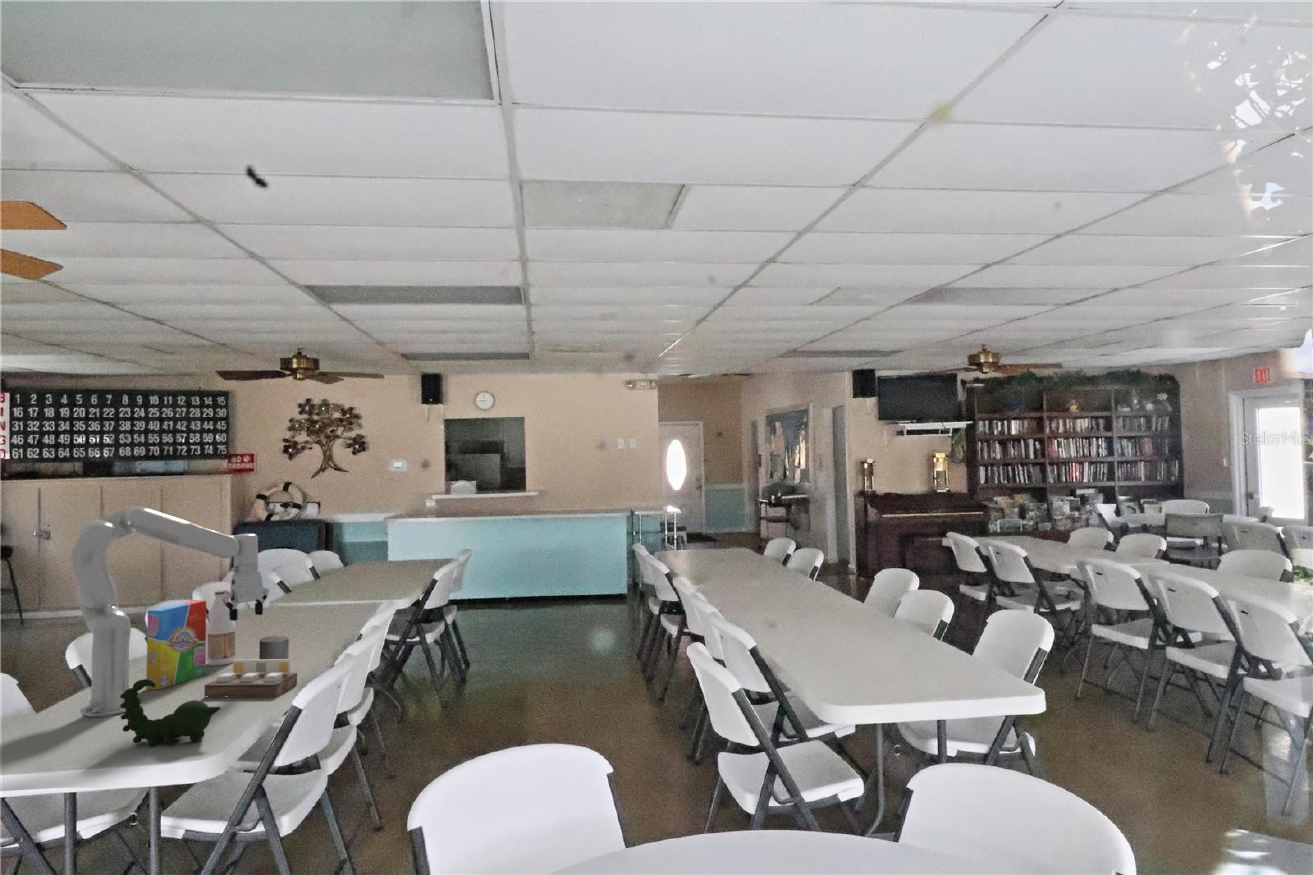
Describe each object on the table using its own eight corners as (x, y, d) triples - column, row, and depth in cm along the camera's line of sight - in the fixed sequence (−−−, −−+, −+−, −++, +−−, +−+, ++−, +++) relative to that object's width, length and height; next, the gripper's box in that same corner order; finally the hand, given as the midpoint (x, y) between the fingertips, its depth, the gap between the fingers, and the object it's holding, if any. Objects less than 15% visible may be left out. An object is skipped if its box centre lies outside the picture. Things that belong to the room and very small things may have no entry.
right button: (276, 683, 253) (276, 676, 253) (264, 683, 253) (264, 676, 253) (282, 679, 257) (282, 672, 257) (270, 679, 257) (271, 672, 257)
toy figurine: (117, 757, 203) (215, 743, 205) (111, 687, 203) (208, 674, 206) (137, 744, 212) (230, 731, 215) (131, 677, 212) (224, 665, 215)
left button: (229, 683, 253) (229, 676, 253) (217, 683, 253) (217, 676, 253) (236, 680, 257) (236, 673, 257) (224, 680, 257) (224, 673, 257)
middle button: (252, 683, 253) (252, 676, 253) (241, 683, 253) (241, 676, 253) (259, 679, 257) (259, 672, 257) (247, 680, 257) (247, 672, 257)
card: (289, 674, 261) (289, 659, 261) (232, 674, 261) (232, 660, 262) (290, 673, 262) (290, 659, 262) (233, 674, 262) (233, 659, 262)
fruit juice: (209, 667, 287) (210, 593, 288) (205, 662, 294) (206, 590, 295) (237, 663, 293) (237, 590, 294) (232, 658, 300) (233, 588, 301)
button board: (275, 697, 248) (275, 684, 249) (204, 697, 249) (204, 685, 249) (297, 684, 262) (297, 673, 263) (229, 685, 263) (229, 673, 263)
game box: (158, 690, 258) (159, 610, 259) (145, 689, 259) (146, 610, 260) (206, 673, 278) (206, 600, 279) (193, 673, 279) (194, 599, 280)
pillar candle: (252, 678, 271) (253, 636, 272) (276, 670, 280) (277, 630, 281) (271, 681, 267) (271, 639, 268) (294, 674, 276) (295, 633, 276)
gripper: (230, 573, 256) (230, 623, 256) (274, 565, 272) (275, 613, 272) (215, 572, 260) (216, 621, 259) (260, 565, 275) (261, 611, 275)
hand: (246, 617), depth 265 cm, fingers open, 9 cm apart
